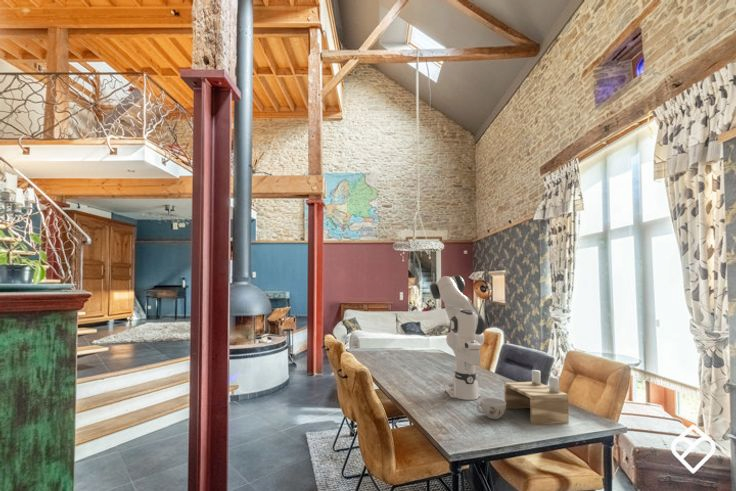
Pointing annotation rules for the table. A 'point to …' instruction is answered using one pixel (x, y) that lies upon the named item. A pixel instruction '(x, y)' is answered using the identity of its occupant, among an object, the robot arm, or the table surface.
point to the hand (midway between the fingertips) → (467, 370)
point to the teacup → (492, 407)
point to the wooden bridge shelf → (537, 402)
